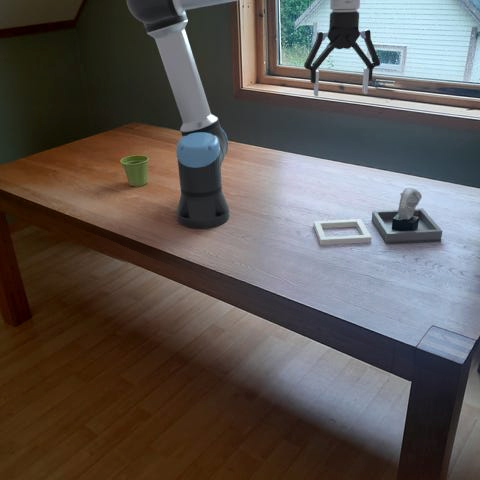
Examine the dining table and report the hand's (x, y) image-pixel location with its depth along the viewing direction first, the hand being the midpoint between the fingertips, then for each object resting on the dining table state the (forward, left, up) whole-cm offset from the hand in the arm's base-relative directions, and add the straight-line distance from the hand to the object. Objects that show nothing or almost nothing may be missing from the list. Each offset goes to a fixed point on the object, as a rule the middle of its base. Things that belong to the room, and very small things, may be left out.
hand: (340, 94), depth 143 cm
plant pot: (-63, +22, -32) cm, 74 cm away
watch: (+14, -23, -31) cm, 41 cm away
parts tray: (+14, -23, -32) cm, 42 cm away
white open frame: (-3, -23, -32) cm, 39 cm away
